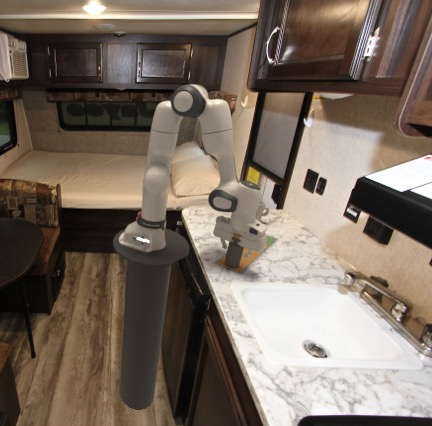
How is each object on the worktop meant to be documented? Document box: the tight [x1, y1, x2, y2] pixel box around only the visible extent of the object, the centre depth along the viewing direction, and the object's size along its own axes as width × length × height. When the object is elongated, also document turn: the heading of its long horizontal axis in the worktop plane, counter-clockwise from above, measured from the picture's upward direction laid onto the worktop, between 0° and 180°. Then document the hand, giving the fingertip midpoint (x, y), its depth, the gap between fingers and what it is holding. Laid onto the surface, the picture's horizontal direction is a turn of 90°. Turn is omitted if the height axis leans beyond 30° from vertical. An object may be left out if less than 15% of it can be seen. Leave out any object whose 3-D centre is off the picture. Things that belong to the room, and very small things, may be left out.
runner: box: [216, 245, 269, 274], centre depth 130 cm, size 31×10×1 cm, turn 134°
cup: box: [256, 199, 271, 223], centre depth 157 cm, size 10×9×12 cm
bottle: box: [225, 233, 244, 268], centre depth 119 cm, size 6×6×15 cm
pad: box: [266, 235, 277, 247], centre depth 143 cm, size 10×10×1 cm
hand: (235, 252), depth 120 cm, fingers open, 8 cm apart
